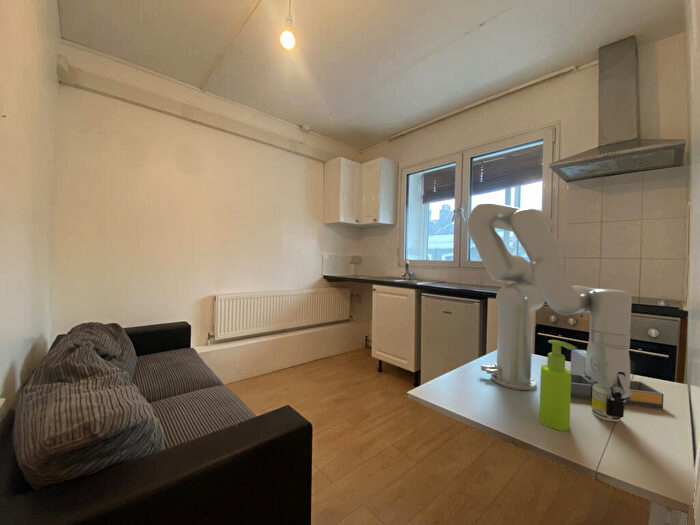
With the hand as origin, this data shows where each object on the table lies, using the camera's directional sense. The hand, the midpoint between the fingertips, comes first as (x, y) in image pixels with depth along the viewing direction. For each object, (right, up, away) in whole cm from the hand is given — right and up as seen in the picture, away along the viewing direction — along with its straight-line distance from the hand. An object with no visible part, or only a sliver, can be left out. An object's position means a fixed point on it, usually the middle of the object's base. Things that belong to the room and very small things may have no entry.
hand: (606, 408), depth 71 cm
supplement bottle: (0, -2, 0) cm, 2 cm away
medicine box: (+13, -2, +22) cm, 26 cm away
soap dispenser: (-16, -2, -4) cm, 16 cm away
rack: (+9, -2, +11) cm, 14 cm away
